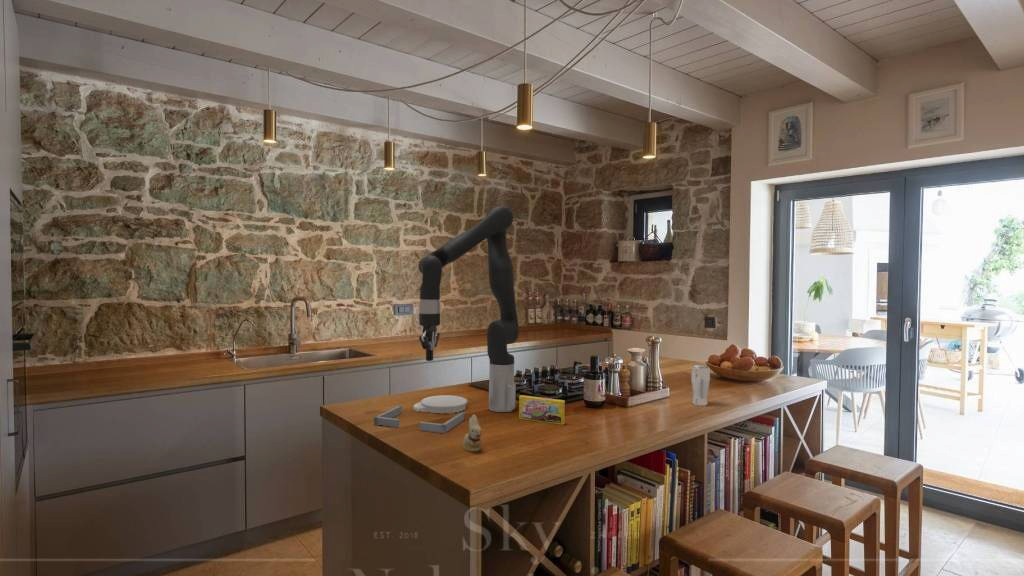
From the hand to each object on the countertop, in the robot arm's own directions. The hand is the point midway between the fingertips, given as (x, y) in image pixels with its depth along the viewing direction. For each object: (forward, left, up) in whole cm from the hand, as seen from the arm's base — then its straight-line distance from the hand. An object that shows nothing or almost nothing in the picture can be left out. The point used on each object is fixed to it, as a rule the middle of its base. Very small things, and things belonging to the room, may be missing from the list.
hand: (429, 360), depth 190 cm
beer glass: (-93, -51, -19) cm, 108 cm away
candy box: (-40, -5, -20) cm, 45 cm away
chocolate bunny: (-28, +29, -19) cm, 45 cm away
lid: (0, -9, -20) cm, 22 cm away
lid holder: (-2, +11, -19) cm, 22 cm away
